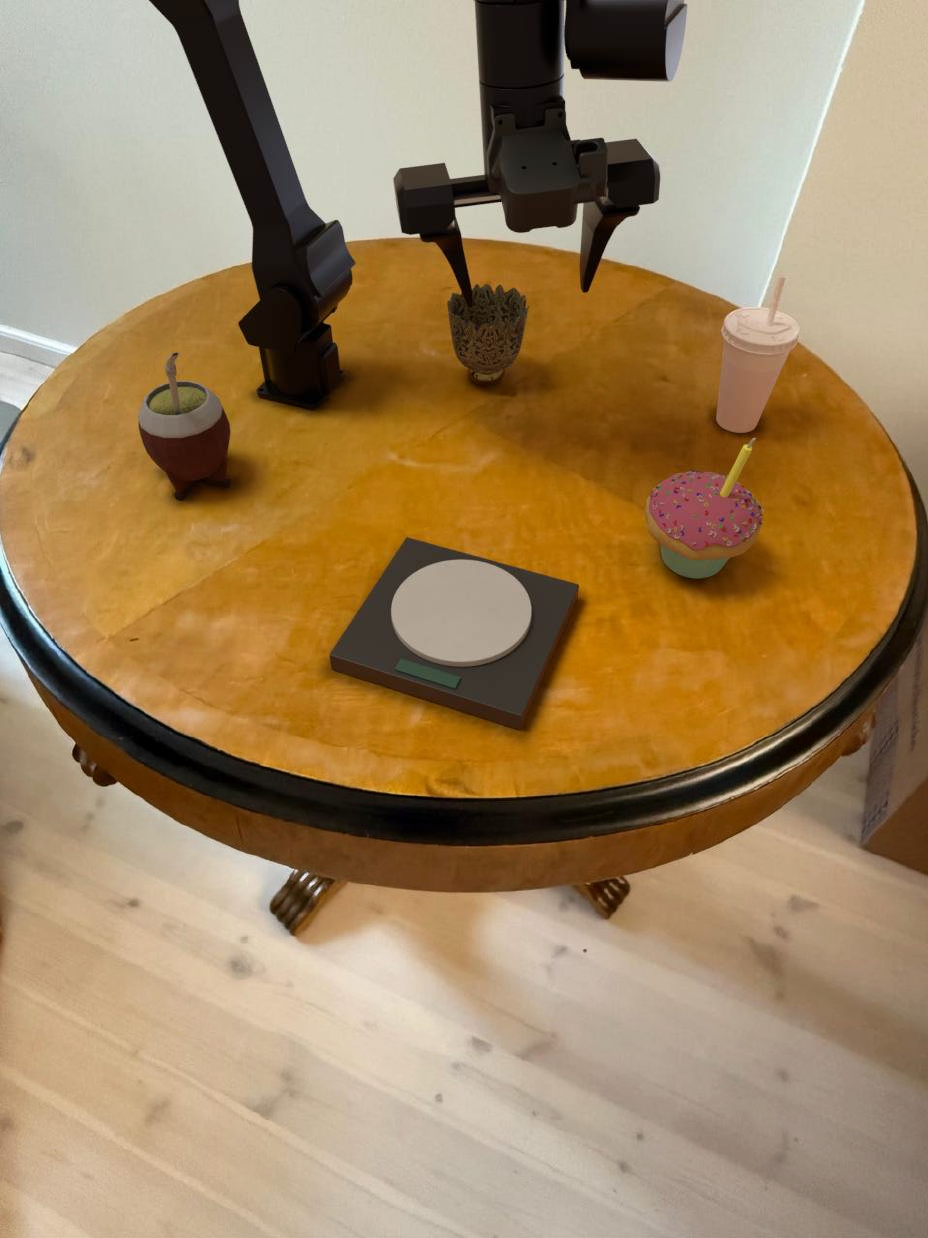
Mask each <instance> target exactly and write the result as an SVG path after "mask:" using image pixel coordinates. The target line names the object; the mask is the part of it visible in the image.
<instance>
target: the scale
mask: <svg viewBox="0 0 928 1238" xmlns="http://www.w3.org/2000/svg"><path fill="white" fill-rule="evenodd" d="M579 590H580V584H579V583H575V582H571V581H568V580H566V579H565V580H564V579H560V578H558V577H554V576H550V575H546V574H543V573H539V572H535V571H532V570H528V569H525V568H521V567H518V566H514V565H510V564H506V563H503V562H499V561H495V560H491V559H488V558H484V557H481V556H477V555H474V554H471V553H466V552H463V551H459V550H456V549H452V548H448V547H444V546H441V545H438V544H433V543H430V542H426V541H424V540H423V541H422V540H420V539H416V538H411V537H408V536H406V538H405V539H404V541H403V542H402V544H400V546H399V548H398V550H397V551H396V552H395V554H394V555H393V557H392V558H391V560H390V562H389V563H388V564H387V566H386V568H385V569H384V571H383V573H381V575H380V577H379V579H378V580H377V581H376V582H375V584H374V586H373V587H372V589H371V590H370V592H369V594H368V595H367V596H366V598H365V600H364V601H363V602H362V604H361V606H360V607H359V609H358V610H357V612H356V613H355V615H354V616H353V618H352V619H351V621H350V623H348V625H347V627H346V629H344V631H343V633H342V635H341V636H340V637H339V639H338V640H337V643H336V644H335V645H334V647H333V648H332V650H331V651H330V653H329V655H328V656H329V662H330V667H331V670H333V671H336V672H339V673H342V674H344V675H348V676H352V677H353V678H357V679H361V680H364V681H366V682H370V683H372V684H376V685H379V686H382V687H384V688H388V689H392V690H395V691H397V692H401V693H404V694H407V695H410V696H413V697H416V698H418V699H419V698H420V699H423V700H426V701H428V702H432V703H435V704H437V705H440V706H444V707H448V708H450V709H453V710H457V711H458V712H459V711H460V712H463V713H466V714H469V715H472V716H475V717H478V718H481V719H484V720H487V721H491V722H494V723H497V724H499V725H503V726H506V727H509V728H512V729H515V730H518V731H520V730H522V727H523V726H524V723H525V721H526V719H527V716H528V714H529V712H530V709H531V707H532V704H533V702H534V700H535V697H536V695H537V693H538V691H539V689H540V686H541V684H542V682H543V679H544V677H545V674H546V672H547V670H548V668H549V665H550V663H551V660H552V659H553V656H554V654H555V652H556V649H557V647H558V645H559V642H560V640H561V638H562V635H563V633H564V631H565V629H566V626H567V624H568V622H569V619H570V617H571V615H572V612H573V611H574V608H575V605H576V603H577V601H578V596H579Z"/></svg>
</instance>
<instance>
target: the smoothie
mask: <svg viewBox="0 0 928 1238" xmlns="http://www.w3.org/2000/svg"><path fill="white" fill-rule="evenodd" d="M786 278H787V276H786V275H784V274H779V275H778V278H777V282H776V285H775V288H774V293H773V296H772V300H771V303H770V307H769V308H768V307H762V306H761V307H760V306H749V307H747V306H746V307H742V308H738V309H735V310H733V311H731V312H729V313H728V314H727V315H725V317H724V321H723V324H722V327H721V332H720V333H721V336H722V338H723V346H722V357H721V367H720V368H721V369H720V376H719V377H720V378H719V387H718V397H717V406H716V416H715V420H716V423H717V425H718V426H719V427H721V429H724V430H726V431H727V432H731V433H737V434H744V433H749V432H752V431H754V429H755V428H756V427H757V425H758V423H759V421H760V418H761V416H762V414H763V411H764V410H765V408H766V406H767V403H768V402H769V399H770V396H771V394H772V392H773V390H774V387H775V385H776V383H777V381H778V378H779V376H780V374H781V372H782V370H783V368H784V365H785V364H786V361H787V359H788V357H789V354H790V352H791V350H793V349H795V347H796V346H797V344H798V342H799V337H800V335H801V329H800V325H799V324H798V323H797V321H796V320H795V319H794V318H792V317H791V316H790V315H788V314H786V313H784V312H783V311H782V312H781V311H779V310H778V306H779V304H780V303H779V302H780V300H781V297H782V293H783V290H784V285H785V282H786Z"/></svg>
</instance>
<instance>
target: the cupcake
mask: <svg viewBox="0 0 928 1238" xmlns="http://www.w3.org/2000/svg"><path fill="white" fill-rule="evenodd" d="M756 440H757V438H756V437H753V438H752V439H750V441H749V443H748V444H743V445H742V448H741V449H740V451H739V454H738V456H737V458H736V460H735V462H734V463H733V466H732V468H731V470H730V471H729V474H726V475H725V474H720V473H717V472H712V471H701V470H696V471H695V470H693V469H692V470H691V471H686V472H676V473H675V474H671V475H670V476H669V477H668V478H666V479H664V480H662V481H659V482H658V483H657V485H656V486H655V487H653V489H652V491H650V493H649V495H648V497H647V499H646V501H645V504H644V515H645V516H644V517H645V520H646V527H647V532H648V534H649V535H650V536H651V537H652V538H653V540H655V541H656V542H657V543H659V547H660V552H661V558H662V561H663V563H664V565H665V566H666V567H667V568H668V569H669V570H671V571H672V572H674V573H675V574H677V575H678V576H681V577H685V578H689V579H698V580H699V579H706V578H710V577H712V576H714V575H716V574H718V572H720V571H721V570H722V568H723V567H724V565H725V564H726V563H727V562H728V561H729V560H730V559H731V558H734V557H738V556H740V555H742V554H744V553H746V552H747V551H748V549H750V547H751V546H752V545H754V544H755V543H756V541H757V539H758V537H759V533H760V531H761V527H762V525H763V514H764V511H765V510H764V509H762V506H761V505H759V501H758V500H757V499H755V497H754V494H753V493H751V491H750V490H749V489H746V488H745V486H744V485H743V484H741V483H740V482H738V479H739V477H740V474H741V472H742V470H743V468H744V467H745V466H746V462H747V461H748V459H749V457H750V456H751V453H752V451H753V447H752V446H753V445H754V442H755V441H756Z"/></svg>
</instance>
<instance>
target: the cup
mask: <svg viewBox="0 0 928 1238" xmlns="http://www.w3.org/2000/svg"><path fill="white" fill-rule="evenodd" d="M472 293H473V307H472V308H468V306H467V304H466V301H465V299H464V296H463V294H462V292H461V293H460V294H459V293H457V292H452V293H451V295H450V298H449V300H446V301H447V302H446V303H447V311H448V319H449V320H448V321H449V329H450V335H451V336H450V337H451V341H452V346H453V351H454V353H455V356H456V358H457V359H458V362H460V363H461V365H463V366H464V367H465V368H466V369H467V370H466V371H467V372H466V373H467V375H468V377H469V379H470V381H471V382H473V383H474V384H477V385H479V386H486V387H487V386H495V385H498V384H499V383H501V381H502V380H503V379H504V378H505V375H506V372H507V371H506V369H509V367H510V366H512V364H514V362H515V361H516V359H517V358H518V356H519V354H520V351H521V348H522V344H523V339H524V334H525V330H526V329H525V328H526V323H527V318H528V313H529V309H530V306H529V305H527V297H526V295H525V294H523V295H521V293H520V291H519V290H518V289H517V288H516V287H511V288H510V289H508V290H507V291H505V288H504V287H503V286H502V284H498V285H497V286H496V287H495V289H494V290H493V288H492V286H491V285H490V284H489V283H485V284H483V285H482V286H480V285H479V284H478V283H476V284H475V285H474V286H473V287H472Z"/></svg>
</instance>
